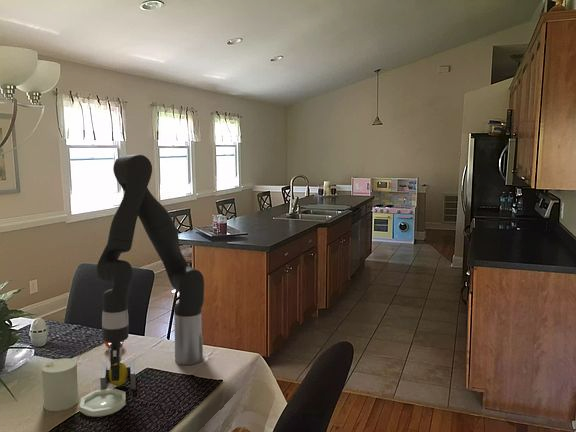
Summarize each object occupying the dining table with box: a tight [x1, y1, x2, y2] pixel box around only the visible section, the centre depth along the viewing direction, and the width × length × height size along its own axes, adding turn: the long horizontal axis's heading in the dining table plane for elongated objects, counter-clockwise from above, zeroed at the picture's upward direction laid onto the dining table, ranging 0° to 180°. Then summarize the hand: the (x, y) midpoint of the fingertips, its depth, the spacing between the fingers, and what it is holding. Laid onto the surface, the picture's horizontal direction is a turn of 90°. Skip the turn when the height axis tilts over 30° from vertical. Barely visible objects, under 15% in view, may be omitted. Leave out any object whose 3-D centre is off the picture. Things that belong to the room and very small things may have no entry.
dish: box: [79, 387, 126, 418], centre depth 135 cm, size 12×12×2 cm
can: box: [41, 357, 80, 412], centre depth 135 cm, size 9×9×12 cm
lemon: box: [108, 362, 129, 388], centre depth 145 cm, size 6×6×8 cm
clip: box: [99, 358, 137, 390], centre depth 147 cm, size 10×11×5 cm
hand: (116, 374), depth 145 cm, fingers open, 8 cm apart
